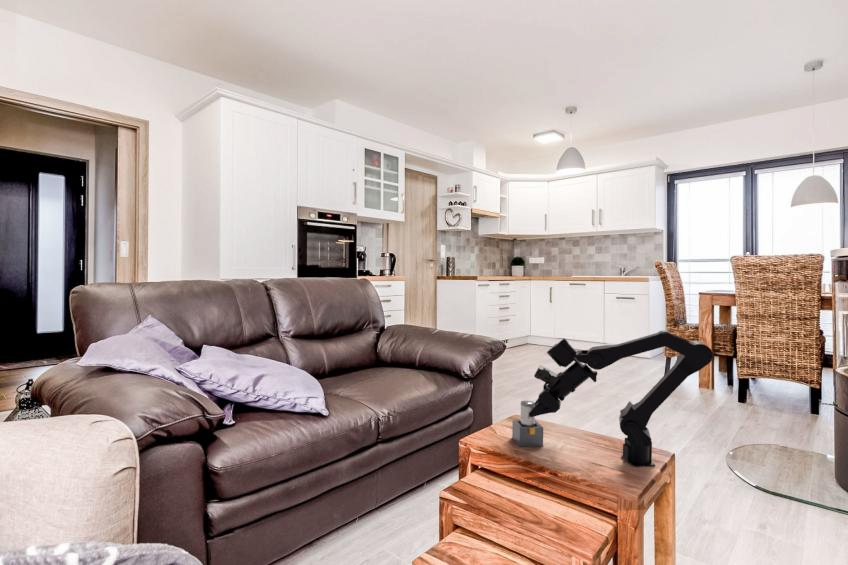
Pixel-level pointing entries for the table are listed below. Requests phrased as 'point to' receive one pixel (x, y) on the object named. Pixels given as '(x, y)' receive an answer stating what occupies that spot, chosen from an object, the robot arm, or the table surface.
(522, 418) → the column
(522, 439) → the stand collar
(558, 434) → the table surface
